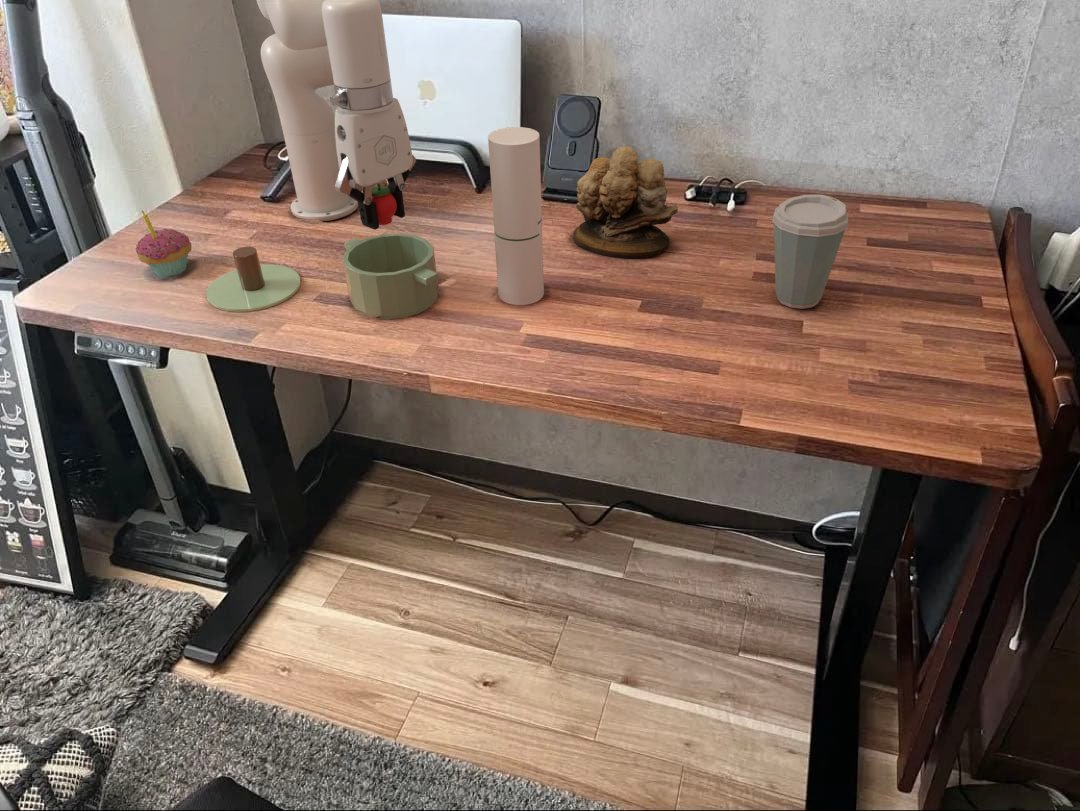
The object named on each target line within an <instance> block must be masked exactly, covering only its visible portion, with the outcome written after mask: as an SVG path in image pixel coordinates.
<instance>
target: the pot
mask: <svg viewBox="0 0 1080 811" xmlns="http://www.w3.org/2000/svg"><path fill="white" fill-rule="evenodd" d="M343 246H344V250H345V251H344V252H343V258H342V265H343V270H344V276H345V282H346V287H347V291H348V297H349V301H350V303H351V304H352V307H354V309H356V310H357V311H360V312H361V313H364V314H366V315H371V316H375V319H376V320H377V319H378V320H396V319H398V320H399V319H402V318H403V319H404V318H407V317H412V316H415V315H418V314H420V313H422V312H424V311H426V310H428V309H430V307H432V306H433V305H434V304H435V303H436V301H437V300H438V297H439V282H438V280H439V273H438V271H437V264H436V254H435V247H434V245H432V244H431V242H429V240H427V239H426V238H423V237H422V236H421V237H420V236H418V235H414V234H407V233H388V234H387V233H385V234H379V235H373V236H370V237H367V238H364V239H359V238H357V237H355V238H352V239H350V240H347V241H345V242H343Z"/></svg>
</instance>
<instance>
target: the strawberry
mask: <svg viewBox="0 0 1080 811" xmlns="http://www.w3.org/2000/svg"><path fill="white" fill-rule="evenodd" d="M372 202H373V203H375V204H376V209H377V215H378V222H379V226H387V225H390V224H391V223H392V222H393V217H394V216H395V215H394V214H395V212H396V209H397V202H396V199H395V197H394V196H393V195H392V194H391V193H390V188H389V187H388V186H385V185H381V183H376V186H372Z"/></svg>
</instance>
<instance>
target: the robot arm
mask: <svg viewBox="0 0 1080 811" xmlns="http://www.w3.org/2000/svg"><path fill="white" fill-rule="evenodd" d="M256 4H257V6H258V9H259V11H260V13H261V14H262V16H263V17H264V18H265V19H267V20H268V21H270V24H271V26H272V29H273V31H274V33H272V34H271V35H269V36H268V37H266V38H265V39H264V41H263V42H262V43H261V47H260V59H261V63H262V66H263V69H264V73H265V75H266V77H267V80H268V83H269V86H270V88H271V91H272V94H273V98H274V101H275V106H276V109H277V112H278V117H279V122H280V126H281V130H282V133H283V138H284V144H285V148H286V153H287V158H288V162H289V167H290V172H291V175H292V179H293V180H292V181H293V185H294V190H295V194H296V198H295V199H294V200H292V202H291V203H290V206H289V207H290V211H291V214H292V215H293V216H295V217H296V218H298V219H302V220H308V221H319V222H329V221H335V220H338V219H341V218H345V217H347V216H349V215H350V214H352V213H354V212H355V211H356V210H357V209H358V213H359V218H360V222H361V224H362V226H363V227H364V226H365V227H367V228H369V229H372V230H374V231H376V230H379V228H380V225H379V222H378V215H377V209H376V204H375V203H373V202H372V188H373V185H377V184H380V183H381V182H383V181H385V182H386V185H387V187H389V188H390V193H391V194H392V195H393V196H394V197H395V199H396V202H397V209H396V212H395V214H394V215H393V216H395V217H398V218H400V219H402V218H405V217H406V212H405V201H404V195H403V191H405V189H406V181H407V179H408V177H409V175H410V171H412V169H413V167H414V166H415V165H416V163H417V158H416V157H415V155H414V154H413V151H412V146H411V140H410V135H409V130H408V126H407V121H406V119H405V114H404V113H403V109H402V107H401V103H400V101H399V100H398V98H396V97H394V94H393V87H392V86H393V85H392V79H391V72H390V64H389V58H388V49H387V42H386V33H385V28H384V27H385V26H384V20H383V12H382V7H381V2H380V0H256ZM330 86H333V89H334V94H333V95H330V96H329V102H330V103H331V105H332V106H333V107H335V106H337V108H336V109H335V110H333V108H332V106H331V105H330V104H329V103H328V101H326V100H325V99H324V98H323V97H321V95H319V94H318V92H316V90H317V89H321V88H324V87H330Z"/></svg>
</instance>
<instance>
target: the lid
mask: <svg viewBox="0 0 1080 811" xmlns="http://www.w3.org/2000/svg"><path fill="white" fill-rule="evenodd" d="M232 257H233V260H234V264H235V268H236V269H233V270H231V271H228V272H225V273H224V274H222V275H220V276H218V277H217V278H215V279H214V280H213V281H212V282H211V283H210V284H209V285H208V286H207V289H206V292H205V296H206V300H207V302H208V304H210V305H211V306H212V307H213V308H216V309H218V310H220V311H225V312H231V313H233V312H234V313H248V312H254V311H261V310H265V309H268V308H271V307H275V306H278V305H280V304H281V303H283V302H286V301H287V300H289V299H290V298H292V297H293V296H294V295H295V294H296V293H297V292H298V290H299V289H300V287H301V283H302V281H301V276H300V274H299V273H298V272H297V271H296V270H295V269H292V268H291V267H289V266H285V265H280V264H274V263H273V264H272V263H271V264H270V263H268V264H267V263H263V264H261V262H260V258H259V253H258V251H257V248H256V247H255V246H241V247H238V248H236V249H234V250H233V251H232Z"/></svg>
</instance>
